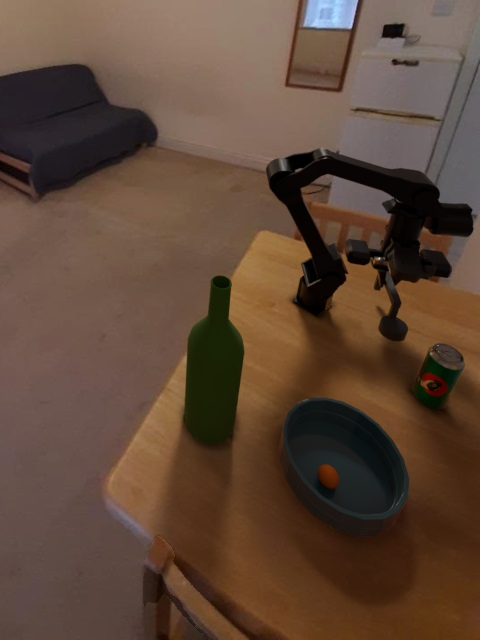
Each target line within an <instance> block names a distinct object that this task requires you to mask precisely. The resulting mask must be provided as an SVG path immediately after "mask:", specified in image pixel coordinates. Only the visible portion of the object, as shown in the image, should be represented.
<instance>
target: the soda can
mask: <svg viewBox="0 0 480 640" xmlns="http://www.w3.org/2000/svg"><path fill="white" fill-rule="evenodd" d="M465 366H466V364H465V358H464V355H463V354H462V353H461V352H460V351H459V349H457V348H456V347H454V346H452V345H450V344H448V343H445V342H444V343H443V342H437V343H434V344H433V345H431V346H429V347H428V350H427V352H426V355H425V357H424V359H423V362H422V364H421V366H420V369H419V371H418V374H417V376H416V378H415V381H414V383H413V385H412V393H413V395H414V396H415V398H416V399H417V400H418V402H419V403H421V404H422V405H424V406H425V407H427V408H430V409H434V410H441V409H442V410H443V409H445V407H446V406H447V403H448V401H449V399H450V397H451V395H452V393H453V392H454V389H455V387H456V386H457V383H458V381H459V380H460V377H461V375H462V373H463V371H464V369H465Z"/></svg>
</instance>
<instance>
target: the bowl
mask: <svg viewBox="0 0 480 640" xmlns="http://www.w3.org/2000/svg"><path fill="white" fill-rule="evenodd" d="M278 447H279V448H278V451H279V452H278V453H279V462H280V466H281V469H282V472H283V475H284V478H285V481H286V482H287V485H289V487H290V489H291V490H292V492H293V494H294V495H295V497H296V499H297V500H298V501H299V502H300V503H301V504H302V505H303V506H304V507H305V508H306V509H307V511H309V513H311V515H312V516H313V517H314V518H316V519H317V520H319V521H321V522H322V523H324V524H325V525H327V526H328V527H329V528H331V529H332V530H335V531H336V532H339V533H343V534H346V535H349V536H352V537H355V538H375V537H378V536H380V535H383V534H384V533H386V532H388V531H389V530H391V529H392V528H393V526H394V524H395V523H396V521H397V519H398V518H399V516H400V515H401V513H402V510H403V509H404V507H405V505H406V503H407V500H408V499H409V489H410V476H409V472H408V469H407V465H406V461H405V459H404V457H403V455H402V453H401V452H400V449H399V448H398V447H397V445H396V443H395V441H394V439H393V438H392V437H391V436H390V435H389V434H388V433H387V432H386V430H385V429H384V428H383V427H382V426H381V424H380V423H378V422H377V421H375V420H374V419H373V418H372V417H370V416H369V415H368V414H367V413H365V412H364V411H362V410H361V409H359V408H357V407H355V406H353V405H352V404H349V403H347V402H345V401H343V400H339V399H334V398H330V397H326V396H323V397H321V396H319V397H308V398H306V399H303V400H301V401H298V402H296V403H295V404H294V405H293V407H292V408H290V409H289V410H288V411H287V413H286V415H285V418H284V422H283V425H282V429H281V434H280V437H279V442H278ZM323 464H327V465H330V466H332V467H333V468H334V469H335V470H336V472H337V473H338V476H339V484H338V486H337V487H336V488H334V489H329V488H326V487H325V486H323V485H322V484H321V482H320V481H319V479H318V475H317V471H318V468H319V467H320V466H321V465H323Z"/></svg>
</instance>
